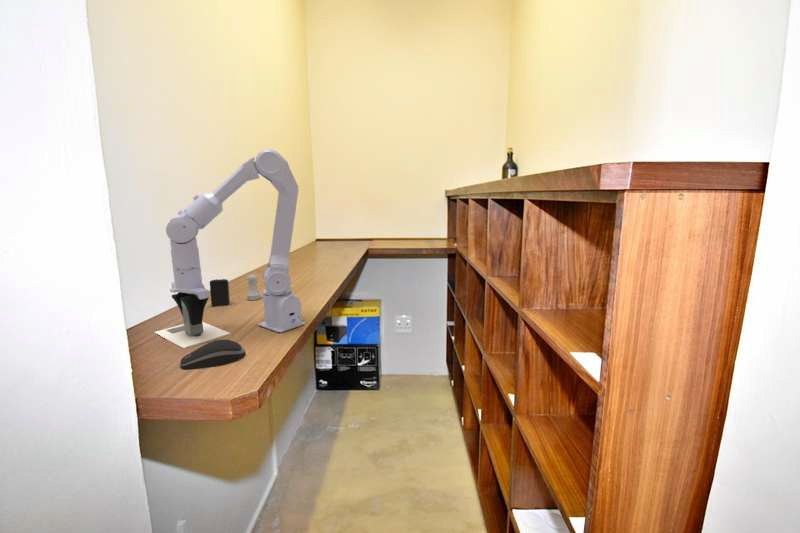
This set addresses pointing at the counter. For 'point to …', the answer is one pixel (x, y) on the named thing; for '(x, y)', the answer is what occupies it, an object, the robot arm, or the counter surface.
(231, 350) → the computer mouse
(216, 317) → the counter surface
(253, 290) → the rook chess piece
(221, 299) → the ink cartridge
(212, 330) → the paper sheet
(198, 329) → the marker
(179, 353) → the counter surface
